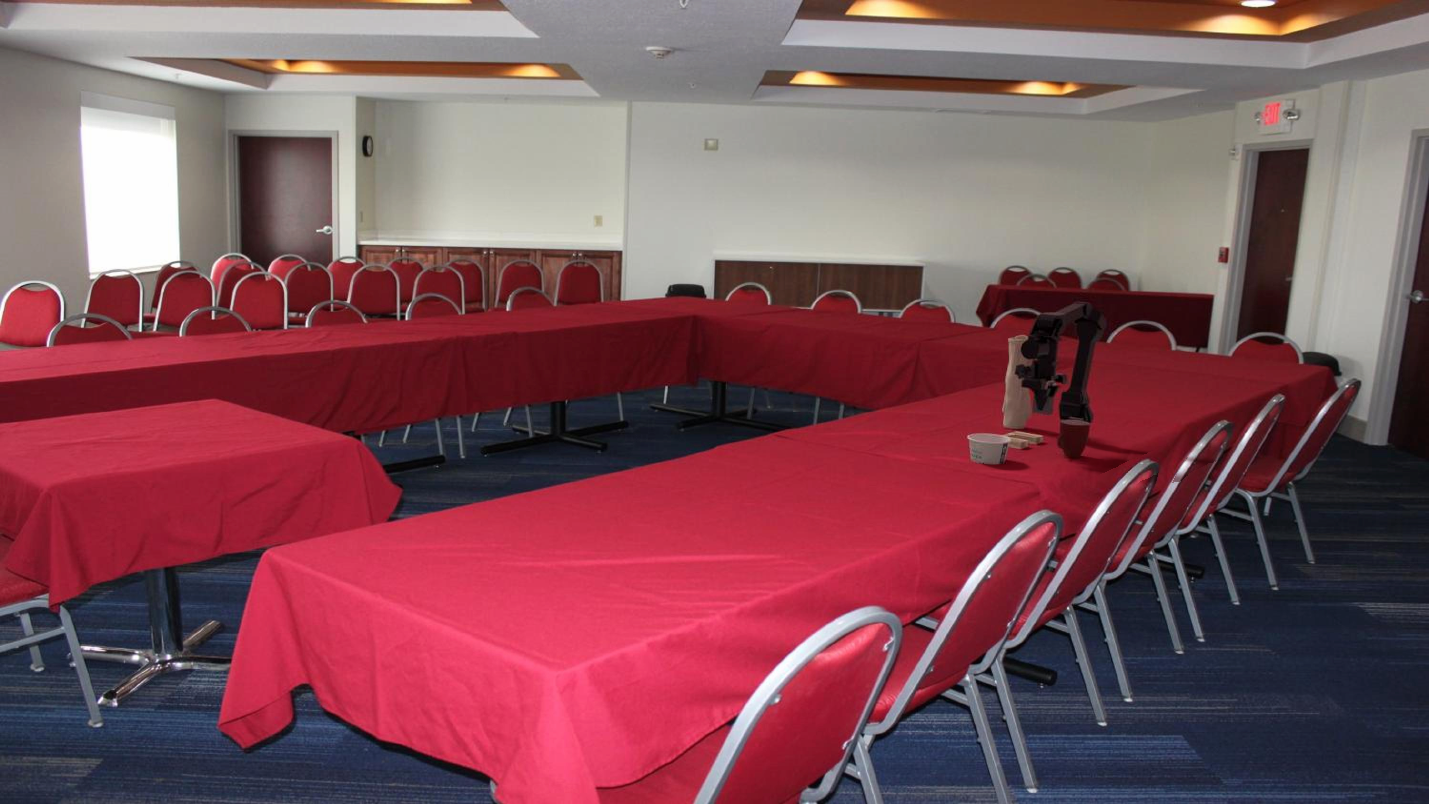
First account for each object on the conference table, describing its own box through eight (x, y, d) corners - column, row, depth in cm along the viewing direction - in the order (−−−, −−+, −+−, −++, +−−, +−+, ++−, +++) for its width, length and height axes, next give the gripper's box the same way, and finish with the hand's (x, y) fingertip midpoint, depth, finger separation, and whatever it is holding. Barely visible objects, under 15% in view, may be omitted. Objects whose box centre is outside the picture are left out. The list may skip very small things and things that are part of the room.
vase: (1011, 423, 353) (1018, 333, 347) (1034, 428, 347) (1041, 336, 341) (996, 427, 347) (1003, 335, 342) (1019, 431, 341) (1026, 338, 335)
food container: (957, 458, 302) (958, 436, 301) (984, 453, 309) (986, 431, 308) (991, 467, 293) (992, 444, 292) (1018, 462, 300) (1020, 439, 299)
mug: (1072, 462, 301) (1075, 427, 299) (1047, 456, 307) (1049, 422, 305) (1092, 457, 308) (1095, 423, 306) (1067, 451, 314) (1070, 418, 312)
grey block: (1036, 411, 315) (1038, 394, 314) (1052, 413, 312) (1054, 397, 311) (1032, 412, 313) (1033, 395, 312) (1048, 415, 310) (1049, 398, 309)
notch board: (1015, 437, 332) (1016, 431, 331) (1042, 442, 326) (1043, 435, 325) (993, 444, 322) (993, 437, 321) (1020, 449, 316) (1020, 442, 315)
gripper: (1035, 351, 322) (1030, 402, 325) (1006, 356, 308) (1002, 409, 311) (1070, 355, 315) (1065, 407, 317) (1042, 360, 301) (1038, 415, 304)
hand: (1042, 409), depth 312 cm, fingers closed on grey block, 3 cm apart
